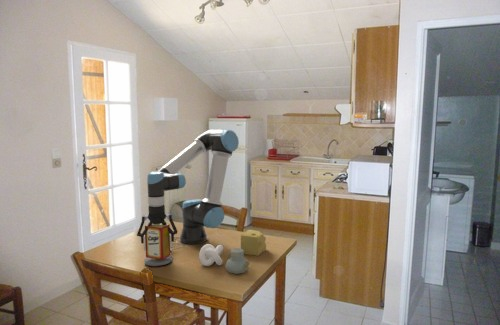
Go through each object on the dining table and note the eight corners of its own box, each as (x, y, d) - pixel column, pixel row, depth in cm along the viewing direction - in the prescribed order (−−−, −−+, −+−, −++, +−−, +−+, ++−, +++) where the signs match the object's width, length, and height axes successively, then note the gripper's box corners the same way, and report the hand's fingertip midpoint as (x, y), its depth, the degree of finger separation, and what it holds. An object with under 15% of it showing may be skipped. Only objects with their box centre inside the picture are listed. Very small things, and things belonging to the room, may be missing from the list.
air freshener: (240, 277, 160) (240, 255, 159) (223, 274, 164) (223, 253, 162) (250, 268, 170) (250, 247, 169) (234, 265, 174) (234, 245, 172)
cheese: (266, 249, 194) (266, 231, 193) (258, 256, 185) (258, 237, 183) (248, 247, 199) (248, 229, 197) (239, 253, 189) (239, 234, 188)
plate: (172, 256, 185) (172, 253, 185) (171, 266, 173) (171, 263, 172) (145, 258, 183) (145, 255, 183) (143, 268, 170) (143, 265, 170)
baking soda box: (170, 255, 179) (169, 223, 177) (162, 260, 173) (161, 227, 171) (154, 252, 182) (153, 221, 180) (145, 257, 176) (144, 224, 174)
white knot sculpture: (230, 266, 173) (229, 247, 172) (206, 271, 167) (206, 252, 166) (219, 258, 183) (219, 240, 182) (197, 263, 177) (196, 245, 176)
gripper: (181, 201, 180) (183, 244, 183) (131, 204, 176) (133, 247, 178) (182, 205, 173) (183, 249, 176) (129, 207, 169) (131, 253, 171)
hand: (158, 248), depth 177 cm, fingers closed on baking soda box, 11 cm apart
